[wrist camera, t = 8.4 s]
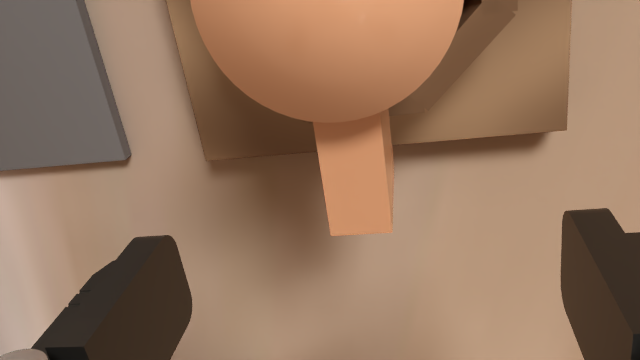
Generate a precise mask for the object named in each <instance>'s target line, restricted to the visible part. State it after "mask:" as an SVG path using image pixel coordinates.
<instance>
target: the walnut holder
mask: <svg viewBox="0 0 640 360" xmlns="http://www.w3.org/2000/svg"><path fill="white" fill-rule="evenodd" d="M166 2H167V6H168V10H169V14H170V18H171V22H172V26H173V30H174V34H175V38H176V42H177V46H178V50H179V55H180V59H181V63H182V67H183V71H184V75H185V79H186V83H187V87H188V91H189V95H190V99H191V103H192V107H193V111H194V115H195V119H196V123H197V127H198V131H199V135H200V139H201V143H202V147H203V151H204V155H205V159H206V161H211V160H223V159H235V158H246V157H258V156H270V155H282V154H293V153H305V152H317V145H316V139H315V132H314V126H313V122H310V121H304V120H300V119H295V118H291V117H288V116H286V115H283V114H280V113H277V112H275V111H273V110H271V109H269V108H267V107H265V106H263V105H261V104H259V103H258V102H256V101H255V100H253V99H252V98H250V97H249V96H247V95H246V94H245V93H244V92H243V91H241V90H240V89H239V88H238V87H237V86H235V85H234V84H233V83H232V81H231V80H230V79H229V78H228V77H227V76H226V75H225V74H224V73H223V72H222V70H221V69H220V68H219V66H218V65H217V64H216V62H215V61H214V60H213V58H212V56H211V55H210V53H209V51H208V49H207V48H206V46H205V44H204V42H203V40H202V38H201V35H200V33H199V31H198V28H197V26H196V22H195V19H194V15H193V12H192V8H191V2H190V0H166ZM571 9H572V0H464V3H463V9H462V14H461V17H460V21H459V24H458V28H457V31H456V33H455V35H454V38H453V40H452V42H451V44H450V47H449V49H448V50H447V52H446V54H445V55H444V57H443V59H442V60H441V62H440V63H439V65H438V66H437V67H436V69H435V70H434V71H433V72H432V74H431V75H430V76H429V77H428V78H427V79H426V80H425V81H424V82H423V83H422V84H421V85H420V86H419V87H418V88H417V89H416V90H415V91H414V92H413V93H411V94H410V95H409V96H407V97H406V98H405V99H403V100H402V101H400V102H399V103H397V104H395V105H393V106H392V107H390V108H389V118H390V129H391V139H392V145H399V144H411V143H423V142H435V141H447V140H458V139H470V138H482V137H494V136H505V135H517V134H529V133H541V132H553V131H564V130H567V110H568V85H569V59H570V34H571Z"/></svg>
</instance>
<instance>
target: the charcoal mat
mask: <svg viewBox="0 0 640 360" xmlns="http://www.w3.org/2000/svg"><path fill="white" fill-rule="evenodd" d="M130 155H131V152H130V148H129V145H128V142H127V139H126V135H125V132H124V129H123V126H122V122H121V119H120V116H119V113H118V109H117V106H116V103H115V100H114V96H113V93H112V90H111V87H110V83H109V80H108V77H107V74H106V70H105V67H104V64H103V61H102V57H101V54H100V51H99V48H98V44H97V41H96V38H95V35H94V31H93V28H92V25H91V22H90V18H89V15H88V12H87V9H86V5H85V2H84V0H0V171H4V170H16V169H27V168H39V167H50V166H61V165H73V164H84V163H96V162H107V161H119V160H126V159H127V158H128V157H129V156H130Z"/></svg>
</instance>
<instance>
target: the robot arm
mask: <svg viewBox="0 0 640 360" xmlns="http://www.w3.org/2000/svg"><path fill="white" fill-rule="evenodd" d="M561 292H562V299H563V304H564V308H565V311H566V314H567V316H568V319H569V321H570V324H571V327H572V329H573V332H574V334H575V337H576V339H577V342H578V344H579V347H580V350H581V352H582V355H583V357H584V360H640V232H639V233H625V232H624V231H623V229H622V228H621V226H620V225H619V223H618V222H617V220H616V219H615V217H614V216H613V214H612V213H611V212H610V210H609V209H607V208H602V209H587V210H571V211H565V212H564V215H563V220H562V250H561ZM191 313H192V297H191V292H190V289H189V286H188V282H187V279H186V275H185V272H184V268H183V265H182V262H181V258H180V255H179V251H178V248H177V245H176V242H175V240H174V239H173V238H172V237H171V236H169V235H163V236H147V237H136V238H134V239H133V240H132V241H131V242H130V243H129V244H128V246H127V247H126V248H125V249H124V251H123V252H122V253H121V254H120V256H119V257H118V258H117V259H116V260H115V261H112V262H111V263H109V264H108V265H106V266H105V267H104V268H102V269H101V270H99V271H98V272H96V273H95V274H94V275H92V277H91V278H90V279H89V280H88V281H87V282H86V284H85V285H84V286H83V287H82V288H81V290H80V293H79V294H76V296H75V297H74V298H73V299H72V300H71V301H70V303H69V306H68V307H65V309H64V310H63V311H62V312H61V313H60V314H59V316H58V317H57V318H56V319H55V320H54V322H53V323H52V324H51V325H50V326H49V328H48V329H47V330H46V331H45V332H44V333H43V335H42V336H41V337H40V338H39V339H38V341H37V342H36V343H35V344H34V345H33V346H32V348H31V349H22V350H17V351H13V352H10V353H7V354H4V355H2V356H0V360H170V359H171V357H172V355H173V353H174V351H175V349H176V347H177V345H178V343H179V341H180V339H181V338H182V336H183V334H184V332H185V330H186V328H187V326H188V324H189V322H190V318H191Z"/></svg>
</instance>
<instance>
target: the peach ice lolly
mask: <svg viewBox="0 0 640 360" xmlns="http://www.w3.org/2000/svg"><path fill="white" fill-rule="evenodd" d="M190 2H191V8H192V12H193V15H194V19H195V22H196V26H197V28H198V31H199V33H200V35H201V38H202V40H203V42H204V44H205V46H206V48H207V49H208V51H209V53H210V55H211V56H212V58H213V60H214V61H215V62H216V64H217V65H218V66H219V68H220V69H221V70H222V72H223V73H224V74H225V75H226V76H227V77H228V78H229V79H230V80H231V81H232V83H233V84H234V85H235V86H237V87H238V88H239V89H240V90H241V91H243V92H244V93H245V94H246V95H247V96H249V97H250V98H252V99H253V100H255V101H256V102H258V103H259V104H261V105H263V106H265V107H267V108H269V109H271V110H273V111H275V112H277V113H280V114H283V115H286V116H288V117H291V118H295V119H300V120H304V121H310V122H313V126H314V132H315V139H316V145H317V151H318V158H319V164H320V171H321V177H322V183H323V190H324V196H325V202H326V209H327V215H328V221H329V228H330V234H331V236H339V235H356V234H374V233H391V232H392V227H393V193H394V160H393V149H392V139H391V129H390V118H389V108H390V107H392V106H393V105H395V104H397V103H399V102H400V101H402V100H403V99H405V98H406V97H407V96H409V95H410V94H411V93H413V92H414V91H415V90H416V89H417V88H418V87H419V86H420V85H421V84H422V83H423V82H424V81H425V80H426V79H427V78H428V77H429V76H430V75H431V74H432V72H433V71H434V70H435V69H436V67H437V66H438V65H439V63H440V62H441V60H442V59H443V57H444V55H445V54H446V52H447V50H448V49H449V47H450V44H451V42H452V40H453V38H454V35H455V33H456V31H457V28H458V24H459V21H460V17H461V14H462V9H463V3H464V0H190Z"/></svg>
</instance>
